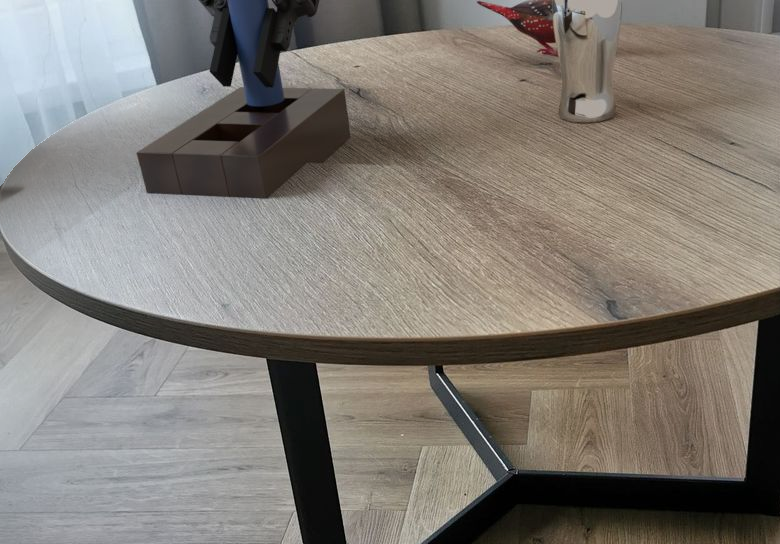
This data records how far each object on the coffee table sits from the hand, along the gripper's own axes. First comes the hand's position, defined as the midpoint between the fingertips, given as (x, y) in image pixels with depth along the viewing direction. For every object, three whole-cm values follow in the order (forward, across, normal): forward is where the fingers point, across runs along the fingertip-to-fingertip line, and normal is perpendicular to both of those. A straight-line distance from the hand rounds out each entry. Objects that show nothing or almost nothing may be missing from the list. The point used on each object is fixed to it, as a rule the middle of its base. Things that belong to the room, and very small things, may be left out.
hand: (241, 79), depth 88 cm
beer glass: (-7, -29, -19) cm, 36 cm away
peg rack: (+6, 0, -6) cm, 9 cm away
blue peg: (0, 0, -5) cm, 5 cm away
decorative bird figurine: (-24, -19, -36) cm, 48 cm away
